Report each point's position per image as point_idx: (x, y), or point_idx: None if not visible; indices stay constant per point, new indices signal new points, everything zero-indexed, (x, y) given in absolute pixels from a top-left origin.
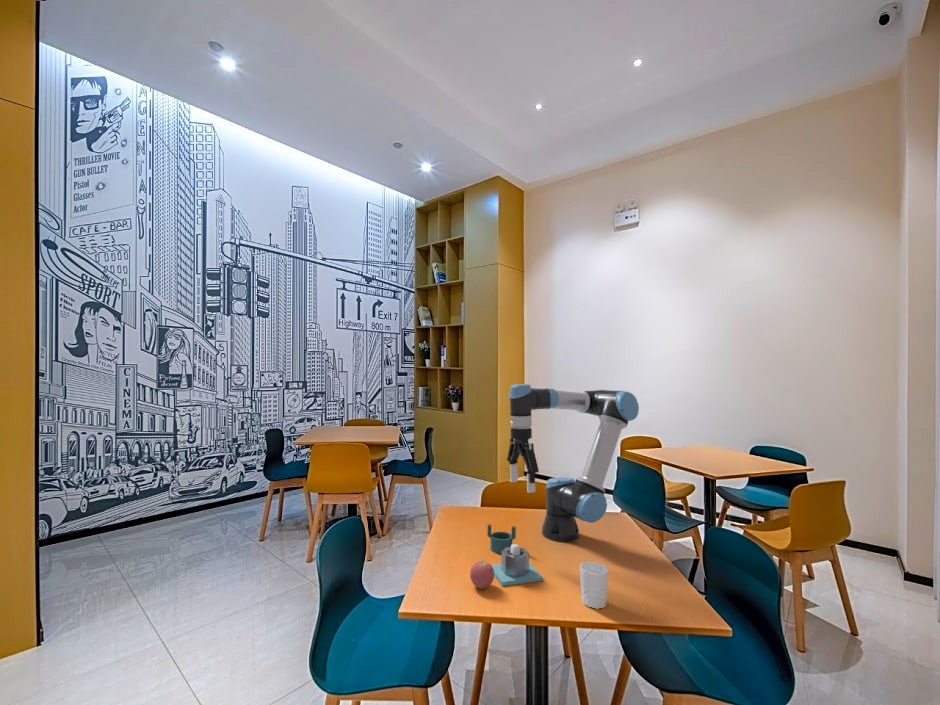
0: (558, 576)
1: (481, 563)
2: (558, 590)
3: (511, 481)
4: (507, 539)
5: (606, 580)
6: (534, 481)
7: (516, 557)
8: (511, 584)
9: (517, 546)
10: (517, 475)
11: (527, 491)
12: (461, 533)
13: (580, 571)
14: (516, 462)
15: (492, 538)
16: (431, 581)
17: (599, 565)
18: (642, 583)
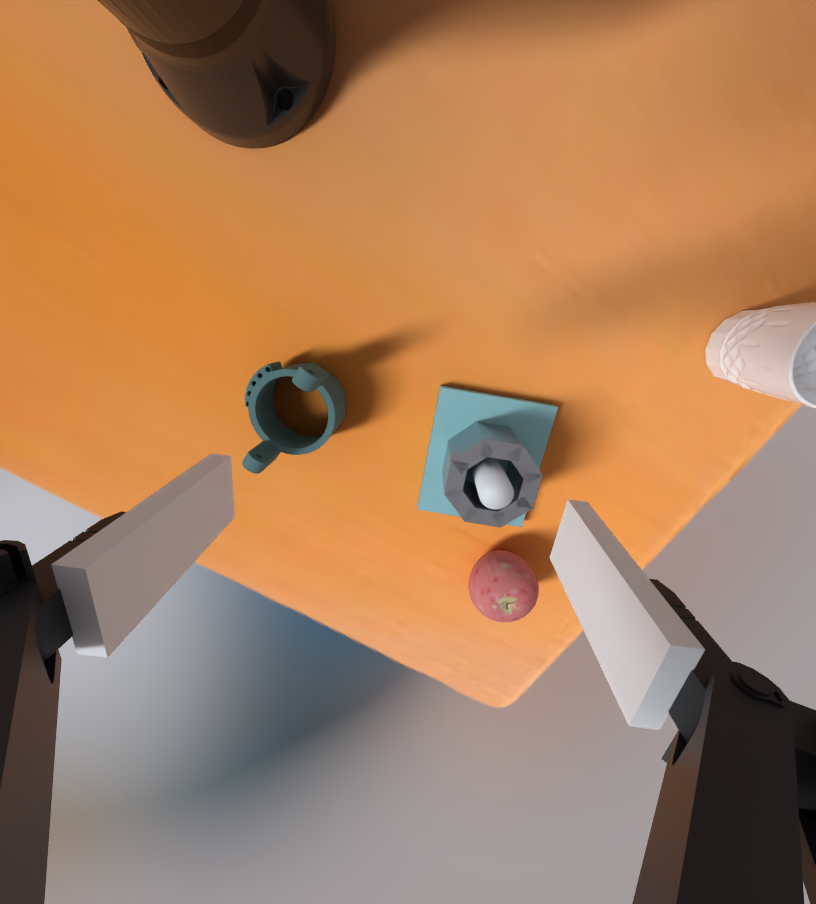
0: (562, 339)
1: (502, 604)
2: (625, 397)
3: (230, 520)
4: (334, 412)
5: None
6: (673, 599)
7: (530, 503)
8: None
9: (503, 489)
10: (196, 486)
11: (556, 562)
12: (142, 462)
13: (791, 400)
14: (8, 564)
15: (299, 453)
16: (416, 643)
17: None
18: (797, 42)
